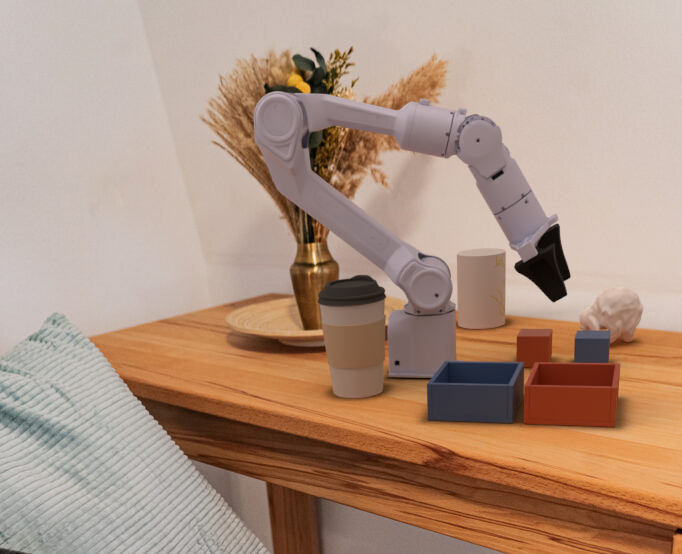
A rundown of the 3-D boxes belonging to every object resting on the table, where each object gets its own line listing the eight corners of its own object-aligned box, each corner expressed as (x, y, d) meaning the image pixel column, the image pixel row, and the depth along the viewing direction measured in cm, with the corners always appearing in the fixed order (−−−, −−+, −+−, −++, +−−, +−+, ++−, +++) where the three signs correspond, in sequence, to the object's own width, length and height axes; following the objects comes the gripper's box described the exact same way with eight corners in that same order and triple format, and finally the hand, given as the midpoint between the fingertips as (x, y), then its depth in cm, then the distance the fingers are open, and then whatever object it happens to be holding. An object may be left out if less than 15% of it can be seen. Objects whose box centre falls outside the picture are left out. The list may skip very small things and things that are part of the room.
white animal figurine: (608, 290, 121) (567, 285, 132) (608, 349, 124) (567, 340, 135) (647, 284, 122) (603, 280, 133) (646, 343, 125) (602, 335, 136)
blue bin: (427, 420, 102) (426, 383, 100) (445, 394, 111) (444, 360, 109) (512, 423, 99) (512, 385, 97) (523, 397, 108) (524, 361, 106)
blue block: (573, 370, 117) (574, 338, 115) (575, 361, 120) (577, 330, 119) (607, 370, 115) (609, 338, 113) (608, 361, 119) (610, 330, 117)
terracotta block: (516, 367, 120) (516, 336, 118) (520, 359, 124) (520, 328, 122) (548, 367, 119) (549, 336, 117) (551, 359, 122) (552, 328, 121)
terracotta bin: (523, 423, 98) (524, 385, 96) (534, 397, 107) (535, 362, 105) (614, 427, 95) (617, 388, 93) (617, 399, 104) (620, 363, 102)
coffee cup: (369, 403, 110) (362, 287, 103) (312, 396, 114) (302, 284, 108) (402, 384, 116) (397, 274, 110) (347, 378, 121) (340, 272, 115)
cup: (504, 328, 142) (504, 255, 137) (455, 329, 144) (454, 257, 139) (506, 317, 149) (506, 247, 144) (460, 318, 151) (458, 249, 146)
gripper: (534, 197, 103) (586, 291, 107) (544, 173, 114) (591, 258, 119) (484, 228, 106) (537, 318, 111) (499, 202, 118) (546, 284, 122)
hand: (562, 289), depth 115 cm, fingers open, 7 cm apart
